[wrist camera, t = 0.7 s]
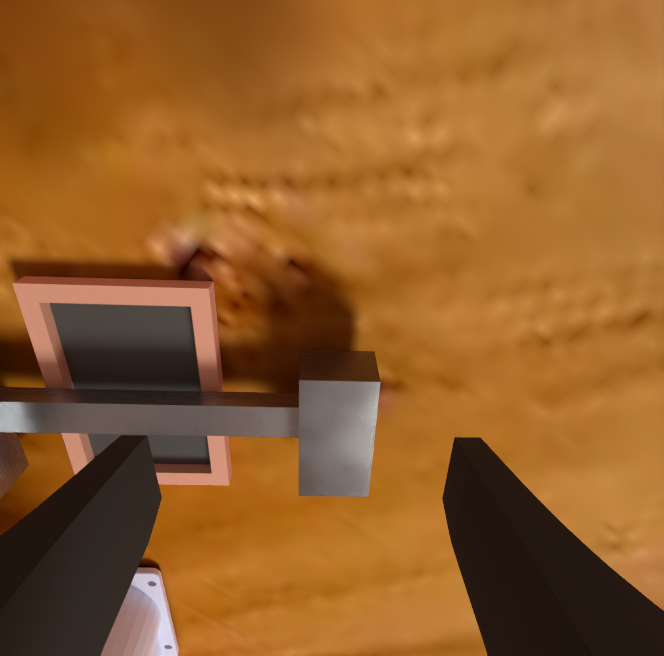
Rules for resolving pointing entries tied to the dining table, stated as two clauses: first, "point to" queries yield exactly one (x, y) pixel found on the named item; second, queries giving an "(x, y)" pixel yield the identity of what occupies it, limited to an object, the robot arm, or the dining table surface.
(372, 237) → the dining table surface
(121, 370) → the picture frame
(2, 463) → the grey piece
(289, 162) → the dining table surface
